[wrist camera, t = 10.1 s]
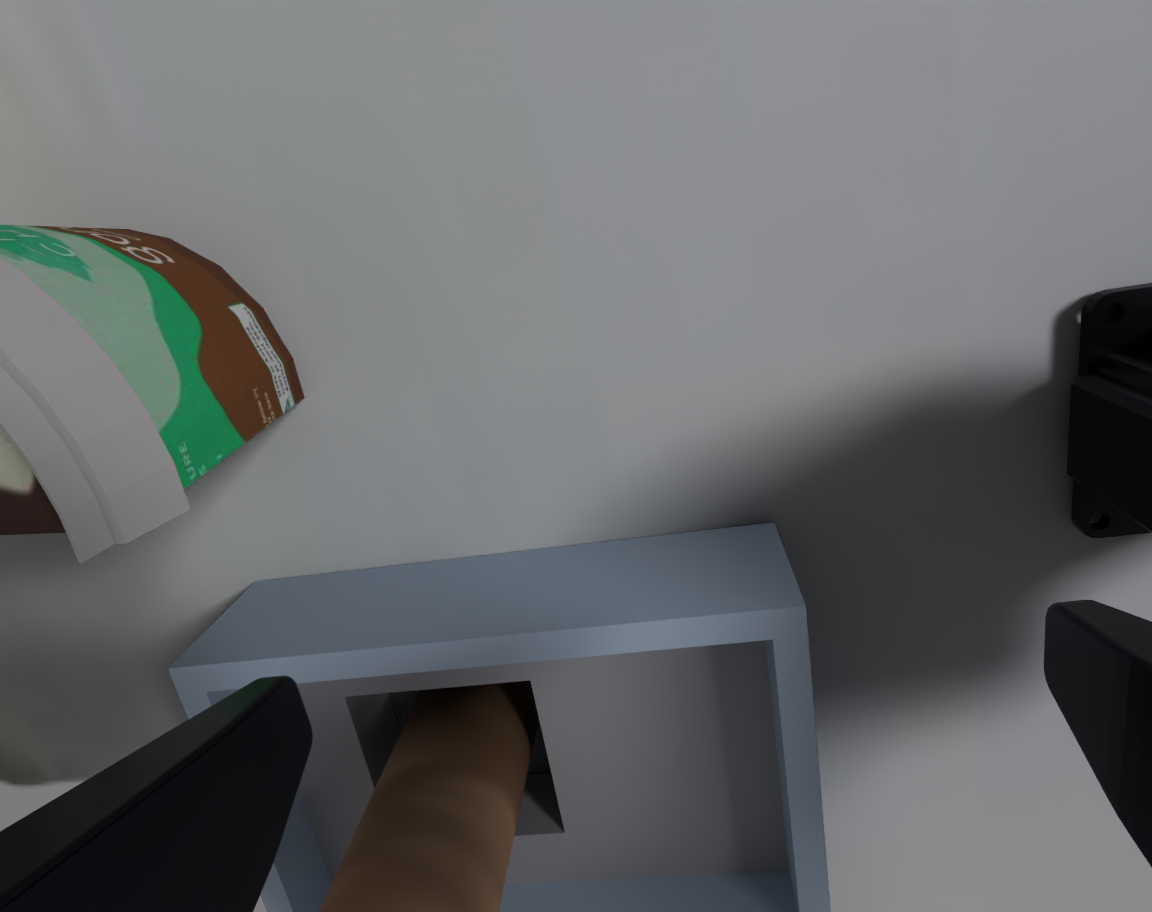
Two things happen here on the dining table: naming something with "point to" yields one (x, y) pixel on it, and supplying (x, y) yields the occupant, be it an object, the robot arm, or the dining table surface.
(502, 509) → the dining table surface
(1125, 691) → the robot arm
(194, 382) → the food container
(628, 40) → the dining table surface
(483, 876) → the peg
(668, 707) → the box
